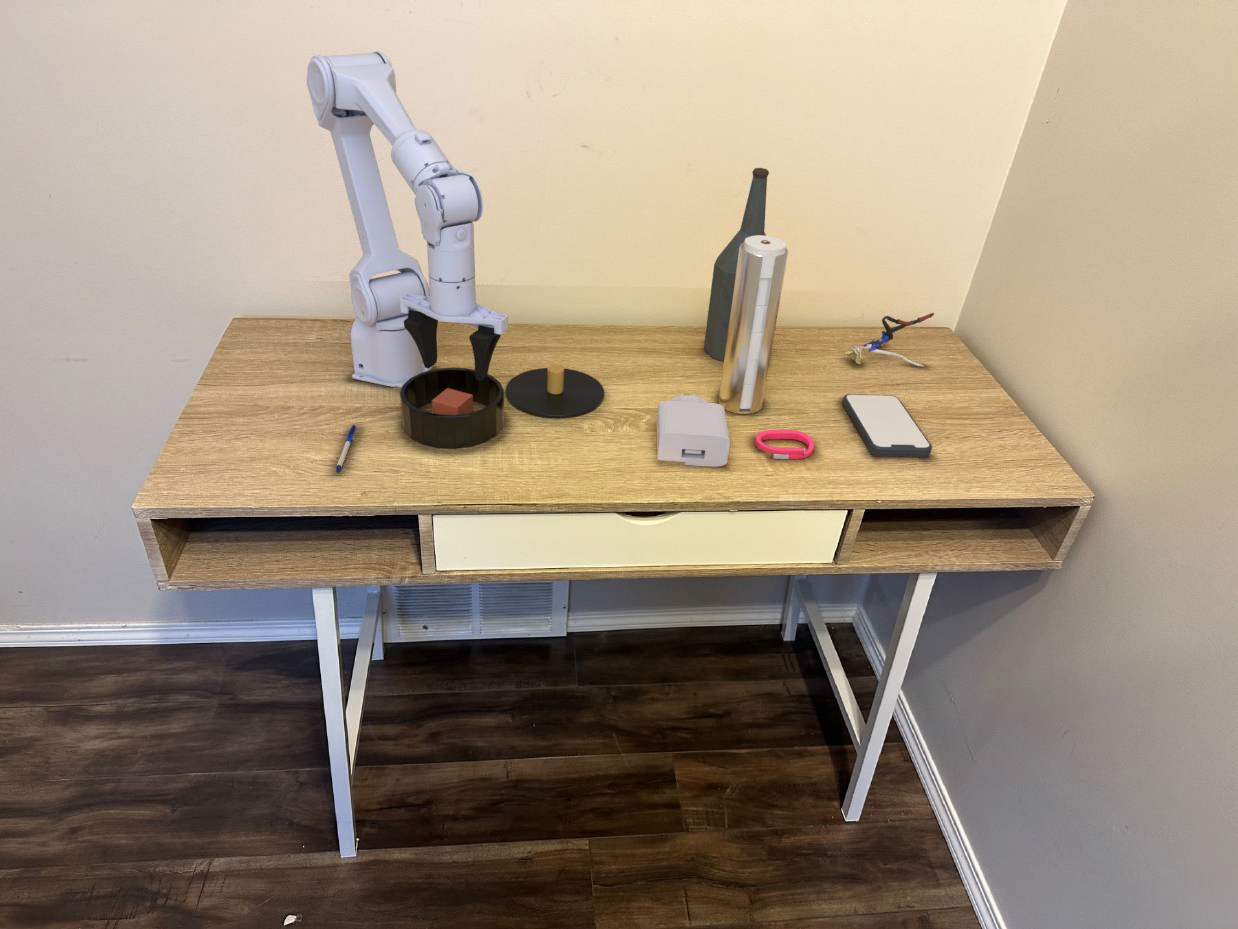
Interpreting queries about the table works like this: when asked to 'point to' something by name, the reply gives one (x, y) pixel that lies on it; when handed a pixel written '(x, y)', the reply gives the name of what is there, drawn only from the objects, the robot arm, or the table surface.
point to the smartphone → (886, 425)
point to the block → (452, 403)
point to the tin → (452, 427)
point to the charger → (692, 431)
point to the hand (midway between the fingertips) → (456, 371)
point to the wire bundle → (884, 340)
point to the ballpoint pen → (345, 448)
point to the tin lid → (554, 392)
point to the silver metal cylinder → (752, 323)
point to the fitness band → (785, 452)
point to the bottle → (733, 267)
